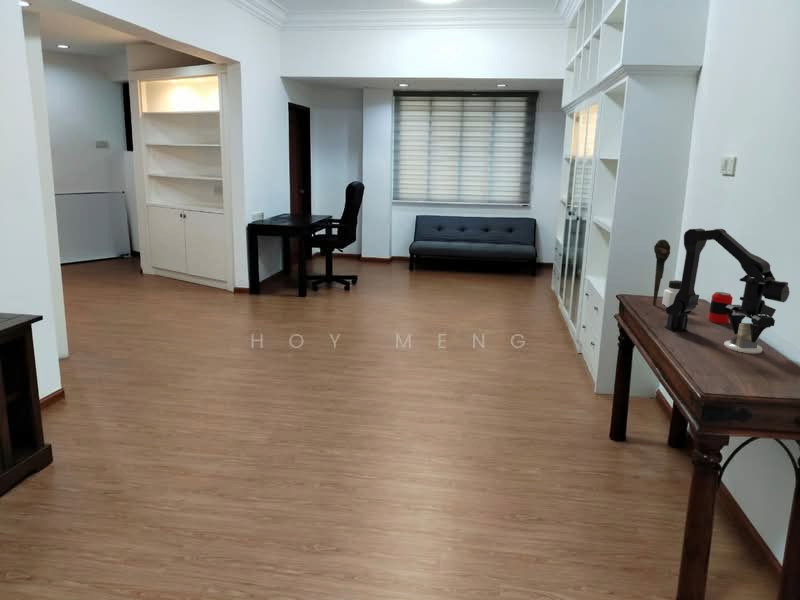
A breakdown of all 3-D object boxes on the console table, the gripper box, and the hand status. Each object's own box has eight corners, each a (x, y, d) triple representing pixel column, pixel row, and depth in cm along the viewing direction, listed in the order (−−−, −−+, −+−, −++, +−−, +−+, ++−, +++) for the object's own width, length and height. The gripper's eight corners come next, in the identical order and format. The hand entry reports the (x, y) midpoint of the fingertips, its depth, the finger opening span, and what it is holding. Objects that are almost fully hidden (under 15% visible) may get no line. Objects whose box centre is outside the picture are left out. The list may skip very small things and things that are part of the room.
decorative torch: (659, 307, 269) (669, 241, 262) (643, 304, 274) (653, 239, 266) (664, 305, 274) (674, 240, 267) (648, 302, 279) (658, 238, 271)
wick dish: (738, 353, 209) (740, 344, 208) (716, 342, 220) (718, 333, 219) (769, 353, 210) (771, 344, 209) (746, 343, 222) (748, 333, 221)
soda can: (704, 320, 252) (708, 292, 249) (714, 318, 256) (719, 290, 253) (721, 324, 246) (726, 296, 243) (731, 322, 250) (737, 294, 247)
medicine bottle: (684, 308, 269) (688, 282, 267) (668, 308, 270) (672, 282, 267) (677, 305, 276) (681, 279, 274) (661, 304, 276) (665, 278, 274)
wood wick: (739, 346, 214) (743, 324, 212) (735, 344, 216) (739, 323, 214) (750, 346, 214) (755, 324, 212) (747, 344, 216) (751, 323, 214)
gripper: (793, 302, 203) (784, 346, 206) (755, 290, 221) (747, 330, 224) (763, 302, 201) (754, 346, 205) (727, 289, 219) (720, 330, 223)
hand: (744, 338), depth 214 cm, fingers open, 9 cm apart
